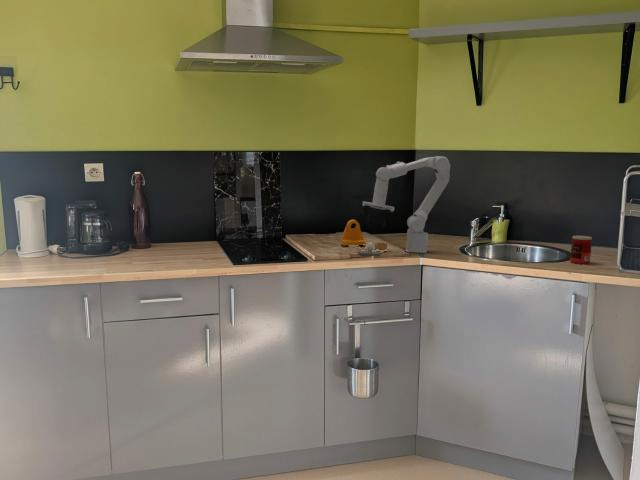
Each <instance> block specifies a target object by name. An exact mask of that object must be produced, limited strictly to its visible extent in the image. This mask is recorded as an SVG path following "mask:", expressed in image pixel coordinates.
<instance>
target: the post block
mask: <svg viewBox="0 0 640 480" xmlns="http://www.w3.org/2000/svg"><path fill="white" fill-rule="evenodd" d="M373 244H374V242H372V241H369V242H367V250H368V251H361V250H359V251H358V253H357V255H358V256H368V257H370V256H371V257H380V256H381V254H380V252H381V251H376V252H375V251H374V252H372V250H374V249H373V247H374V245H373Z"/></svg>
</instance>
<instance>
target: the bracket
mask: <svg viewBox="0 0 640 480" xmlns="http://www.w3.org/2000/svg"><path fill="white" fill-rule="evenodd" d="M353 224H355V227H353V228H352V225H353ZM341 243H342V244H341ZM340 244H341V245H342V246H347V245H363V244H365V245H366V240H365V238H364V235H363V233H362V230H361V225H360V223H359V222H358V221H357V220H356V219H350V220H348V221H347V223H346V225H345V228H344V231H343V233H342V235H341V238H340Z"/></svg>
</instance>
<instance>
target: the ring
mask: <svg viewBox="0 0 640 480" xmlns="http://www.w3.org/2000/svg"><path fill="white" fill-rule="evenodd" d="M375 249H379V250H385V249H387V250H388V242H387V243H386V242H381V241H380V242H379V241H378V242H375V243H374V250H375Z"/></svg>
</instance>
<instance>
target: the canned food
mask: <svg viewBox="0 0 640 480" xmlns="http://www.w3.org/2000/svg"><path fill="white" fill-rule="evenodd" d="M592 244H593V237H592V236H587V235H573V236H572V237H571V247H570V257H569V258H570V259H569V260H570V263H572V264H574V265H582V264H586V265H589V264H590V263H591V254H592Z"/></svg>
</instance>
